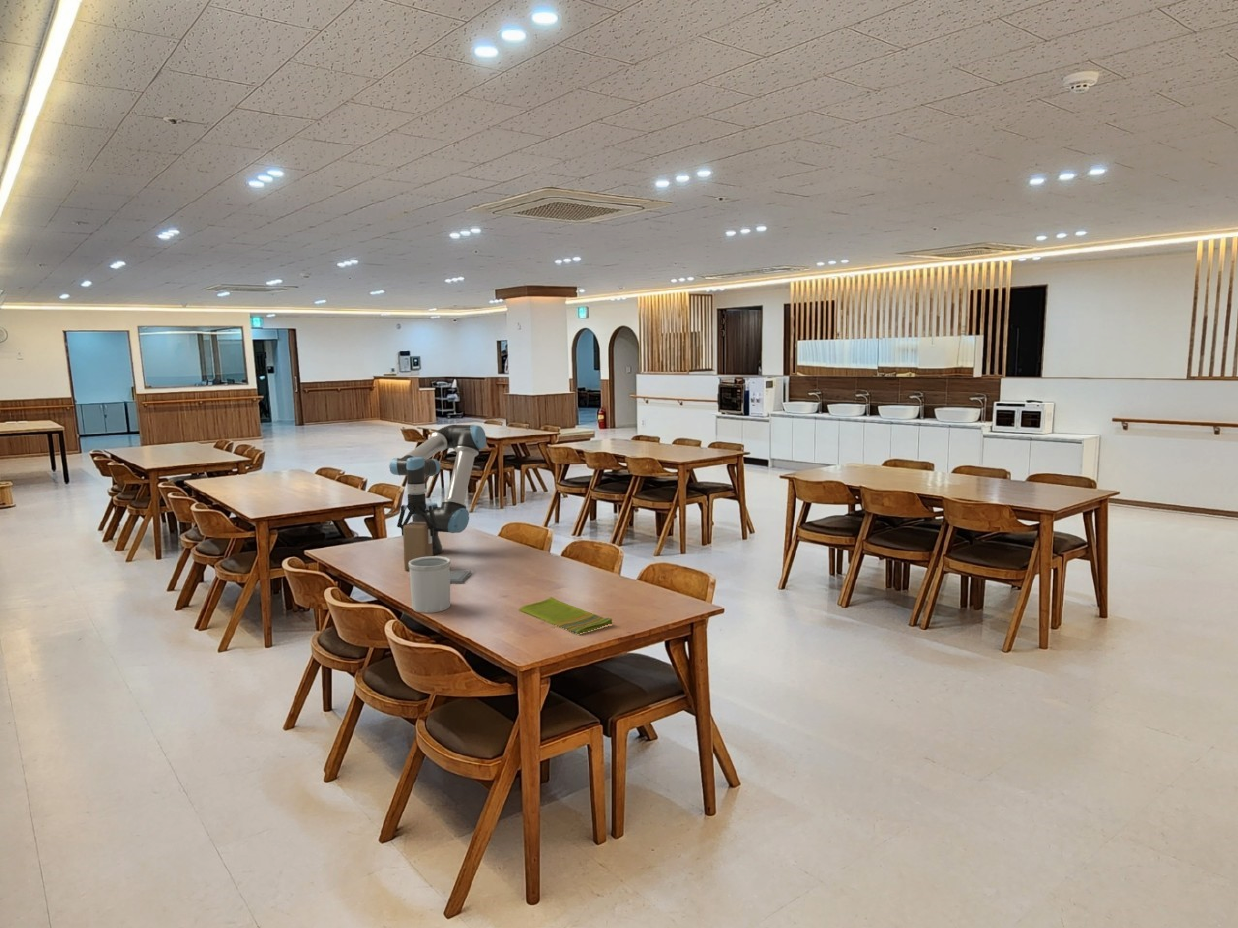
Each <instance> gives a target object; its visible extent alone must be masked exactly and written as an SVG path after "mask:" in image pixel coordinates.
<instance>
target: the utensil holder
mask: <svg viewBox="0 0 1238 928" xmlns="http://www.w3.org/2000/svg"><path fill="white" fill-rule="evenodd" d="M450 565H451V559H450V558H449V557H446V556H441V555H440V556H439V555H438V556H434V555H433V556H429V557H420V558H416V559H413V560H411V561H409V568H410V571H409V581H410V596H411V608H412V610H413V611H415V612H417V613H424V614H426V613H427V614H430V613H438V612H441V611H443V612H444V611H445V610H447V609H449V608H450V606H451V583H450Z"/></svg>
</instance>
